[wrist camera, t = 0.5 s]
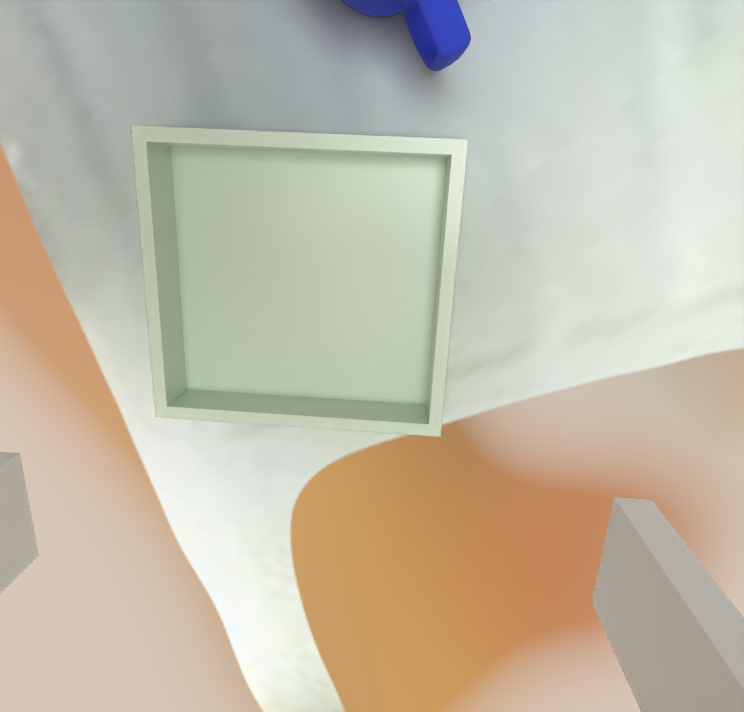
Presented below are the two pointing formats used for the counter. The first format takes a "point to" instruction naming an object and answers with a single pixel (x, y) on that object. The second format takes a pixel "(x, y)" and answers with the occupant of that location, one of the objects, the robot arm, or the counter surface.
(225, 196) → the tray
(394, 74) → the counter surface
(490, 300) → the counter surface
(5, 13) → the counter surface
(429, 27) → the mug
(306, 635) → the counter surface
